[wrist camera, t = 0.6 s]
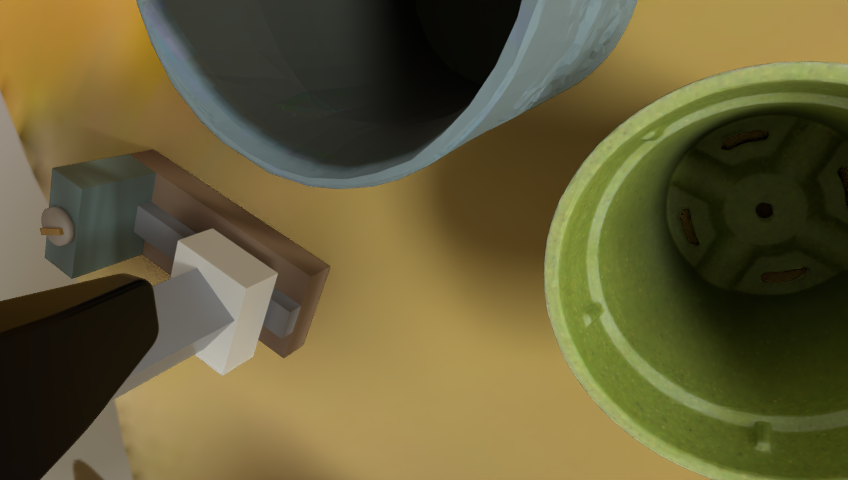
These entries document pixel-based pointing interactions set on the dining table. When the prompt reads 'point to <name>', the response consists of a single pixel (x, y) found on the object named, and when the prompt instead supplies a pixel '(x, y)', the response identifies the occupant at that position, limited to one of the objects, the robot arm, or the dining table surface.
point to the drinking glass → (372, 74)
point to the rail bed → (171, 232)
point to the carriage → (207, 308)
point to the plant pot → (715, 275)
